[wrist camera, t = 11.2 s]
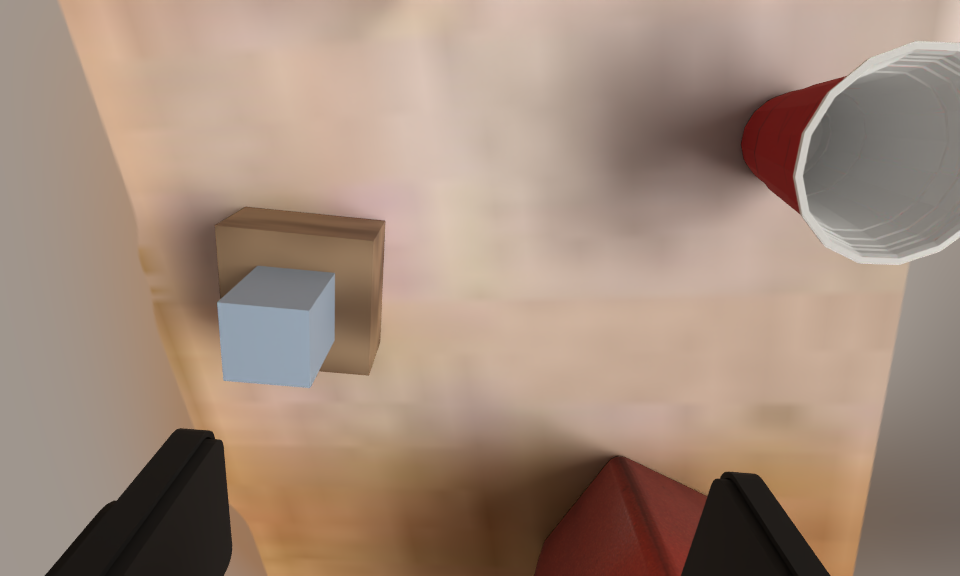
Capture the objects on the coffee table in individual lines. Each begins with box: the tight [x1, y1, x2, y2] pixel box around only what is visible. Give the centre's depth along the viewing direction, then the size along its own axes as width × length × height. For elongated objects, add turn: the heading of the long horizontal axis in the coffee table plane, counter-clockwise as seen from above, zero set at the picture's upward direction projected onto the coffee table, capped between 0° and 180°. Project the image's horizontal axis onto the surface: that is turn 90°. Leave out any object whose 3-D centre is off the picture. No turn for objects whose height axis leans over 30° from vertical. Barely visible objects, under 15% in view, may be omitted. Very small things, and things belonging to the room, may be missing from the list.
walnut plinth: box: [215, 207, 385, 375], centre depth 38 cm, size 10×10×5 cm
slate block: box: [217, 266, 335, 388], centre depth 33 cm, size 5×5×6 cm
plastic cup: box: [741, 41, 960, 265], centre depth 32 cm, size 11×11×12 cm
